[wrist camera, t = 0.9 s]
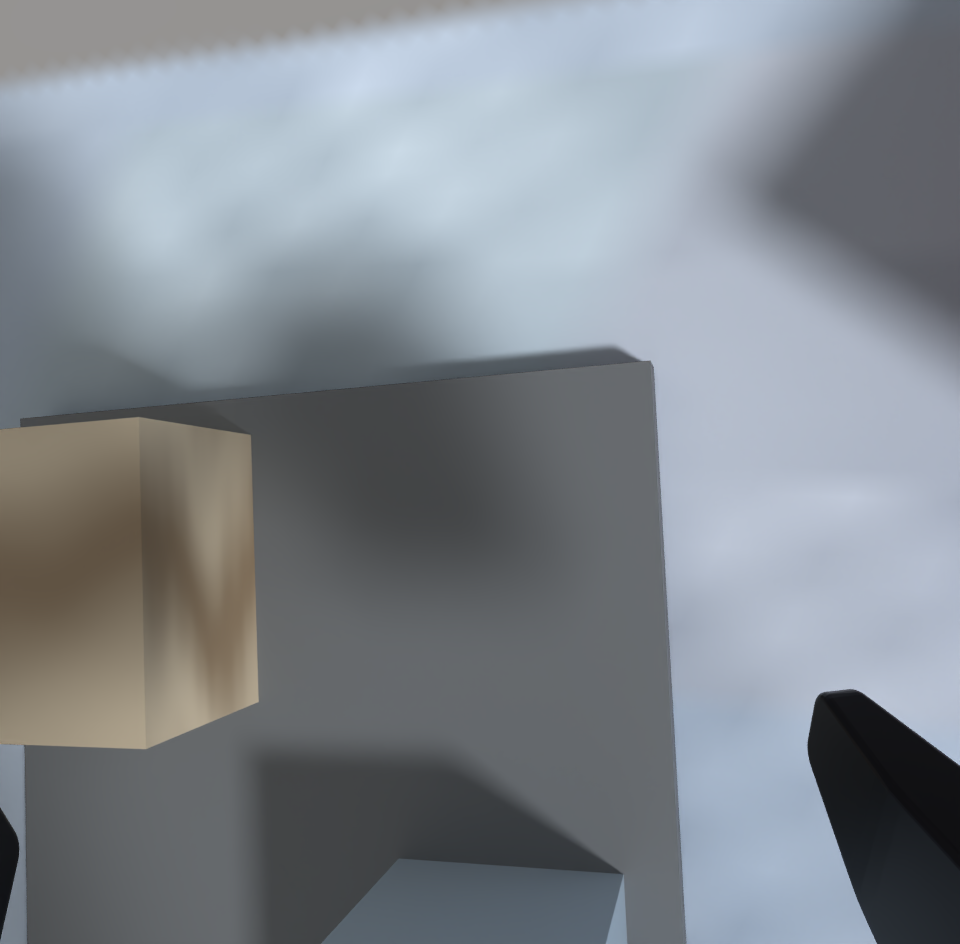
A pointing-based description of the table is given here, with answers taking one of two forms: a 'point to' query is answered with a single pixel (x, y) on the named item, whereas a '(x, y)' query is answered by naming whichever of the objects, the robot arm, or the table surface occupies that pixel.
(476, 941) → the block
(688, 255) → the table surface
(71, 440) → the block
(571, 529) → the board
